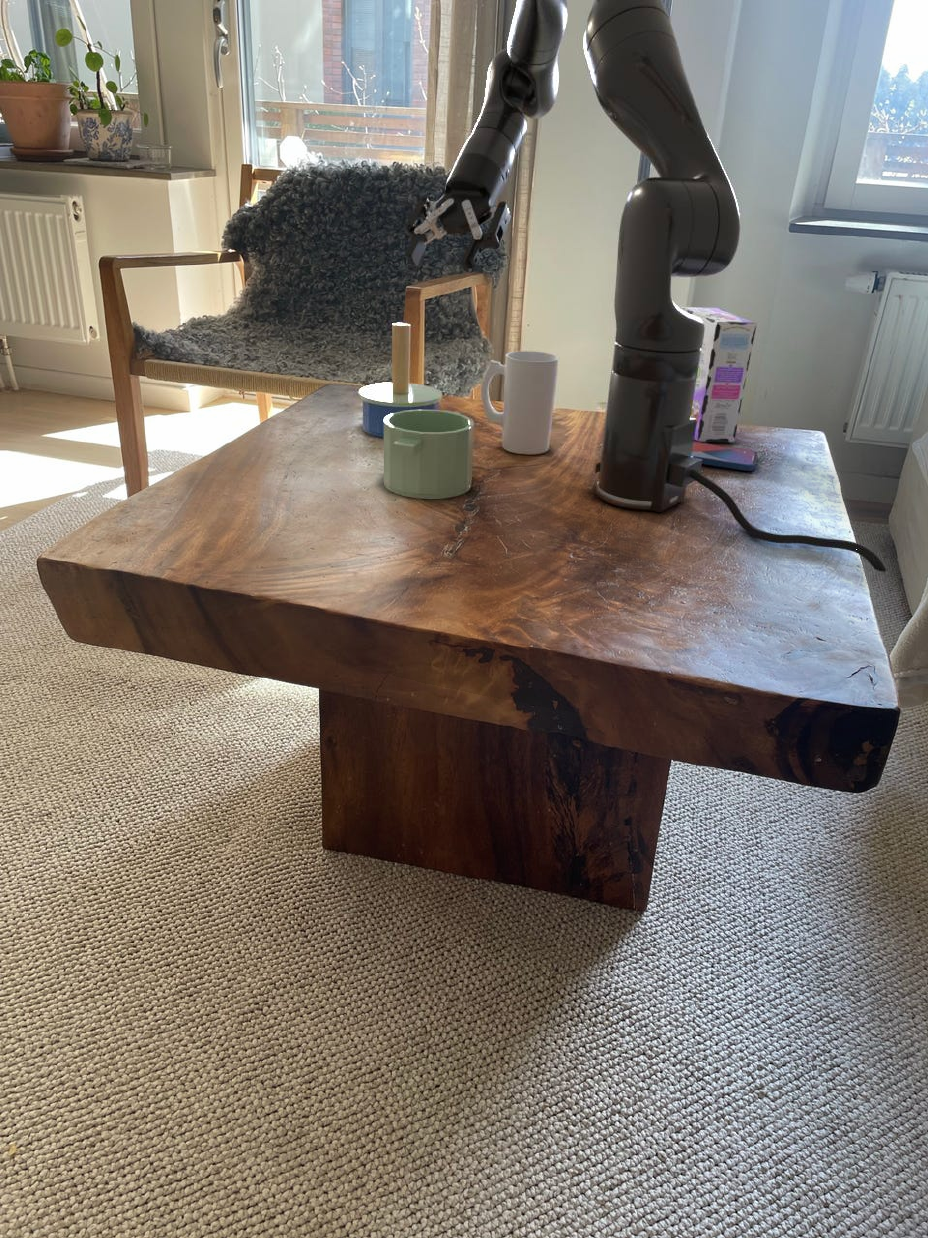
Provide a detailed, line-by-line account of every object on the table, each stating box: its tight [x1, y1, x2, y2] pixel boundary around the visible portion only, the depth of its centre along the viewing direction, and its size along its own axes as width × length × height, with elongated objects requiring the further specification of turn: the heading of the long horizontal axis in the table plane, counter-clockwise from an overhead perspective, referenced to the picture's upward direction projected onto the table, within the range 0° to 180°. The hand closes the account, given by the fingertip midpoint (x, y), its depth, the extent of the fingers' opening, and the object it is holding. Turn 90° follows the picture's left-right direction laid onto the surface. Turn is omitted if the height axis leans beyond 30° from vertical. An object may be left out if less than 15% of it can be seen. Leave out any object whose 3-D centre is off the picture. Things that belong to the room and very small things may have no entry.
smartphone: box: [691, 441, 758, 472], centre depth 118 cm, size 7×15×1 cm, turn 71°
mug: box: [480, 350, 560, 456], centre depth 116 cm, size 10×7×12 cm, turn 69°
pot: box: [383, 409, 475, 500], centre depth 102 cm, size 10×16×8 cm, turn 161°
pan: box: [362, 400, 440, 439], centre depth 123 cm, size 10×10×4 cm
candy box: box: [680, 306, 758, 443], centre depth 127 cm, size 14×6×16 cm, turn 8°
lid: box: [358, 322, 443, 407], centre depth 120 cm, size 11×11×10 cm
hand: (438, 264), depth 122 cm, fingers open, 8 cm apart
